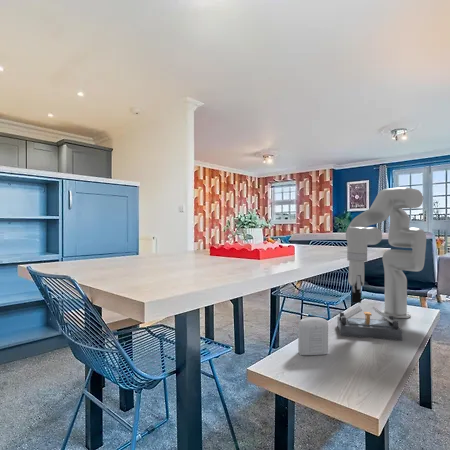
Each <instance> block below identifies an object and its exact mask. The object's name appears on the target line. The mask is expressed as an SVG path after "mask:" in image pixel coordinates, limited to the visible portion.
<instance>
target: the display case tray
mask: <svg viewBox="0 0 450 450" xmlns="http://www.w3.org/2000/svg"><path fill="white" fill-rule="evenodd" d="M343 315H345V313H344V312H339V316H337V317H336V318H337V323H336V325H337V329H338V332H339V334H340V335H339V336H342V337H351V338H352V337H354V338H365V339H377V340H378V339H379V340H389V341H392V340H393V341H403V330H402V329H401V327H400V326H399V321H398V320H394V319H395V318H394V317H393V316H388V317H389V318H390V319H393V320H394V321H393V324H392V323H391V322H390V321H388V320H387V319H377V318H371V316H372V313H371V311H363V315H364V316H365V317H364V318H362V317H361V318H360V317H350V318H349V319H347V320H346V317H342V320H341V316H343Z"/></svg>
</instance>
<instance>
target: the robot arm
mask: <svg viewBox="0 0 450 450" xmlns="http://www.w3.org/2000/svg"><path fill="white" fill-rule="evenodd" d="M423 202H424V195H423V193H422V192H421V190H419V189H416V188H412V187H404V186H403V187H392V188H389V187H388V188H383V189H381V190H380V191H379V192H378V193H377V194H376V197H375V198H374V200H373V202H372V204H371V206H370V207H369V208H368V209H366V210H365V211H363V212H360V213H359V214H358V215H356V216H355V217H354V218H353V219H352V220H351V221H350V222H349V224H348V226H347V228H346V230H345V239H346V241H347V245H346V246H347V251H346V252H347V253H346V254H347V255H346V256H347V257H346V258H347V259H346V260H347V261H348V277H347V278H348V279H347V282H348V284H349V286H352V290H351V302H352V303H356V304H357V303H358V304H360V303H362V287H364V286H365V262H368V246H369V245H370V246H371V245H372V246H373V245H377V244H379V243H380V242H381V241H382V239H383V233H382V231H381V230H380V228H378V227H376V226H372V225H377V224H379V223H382V222H384V221H386V220H388V219H389V226H388V227H389V228H388V238H387V239H388V244H389V245H390V246H391V247H395V248H404V249H405V248H406V249H412V250H406V249H405V250H404V249H393V248H392V249H388V250H385V251H384V252H383V254H382V258H381V259H382V263H383V265H382V266H383V270H384V271H383V272H384V308H383V309H381V310H380V312H382V313H383V314H384V315H386V316H387V317H389V316H393V317H394V319H408V318H411V316H412V315H411V313H410V312H408V279H407V276H406V274H405V273H404V271H405V272H406V271H408V272H420V271H422V270H423V269H424V266H425V263H426V262H425V261H426V252H427V251H426V249H427V234H426V232H425V230H424V229H422V228H418V227H410V222H411V219H410V216H409V215H408V213H407V212H406V210H404V209H418V208H420V207H421V206H422V204H423Z"/></svg>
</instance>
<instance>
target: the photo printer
mask: <svg viewBox="0 0 450 450" xmlns="http://www.w3.org/2000/svg"><path fill="white" fill-rule="evenodd" d="M297 338H298V343H297V345H298V346H297V347H298V349H297V350H298V354H299V355H301V356H316V355H317V356H319V355H321V356H323V355H328V354H329V321H328V320H327V319H325V318H322V317H318V316H317V317H316V316H309V317H305V318H302V319H299V321H298V337H297Z"/></svg>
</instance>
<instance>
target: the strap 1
mask: <svg viewBox="0 0 450 450" xmlns="http://www.w3.org/2000/svg"><path fill="white" fill-rule="evenodd" d="M362 311H363V309H362V308H361V306H360V305H358V306H357V307H355V308H353V309H351V310H350V311H348V312H346V313H344V315H343V316H341V320H342V317H346V320H347V319H349V318H353V317H354V316H356V315H357V314H359V313H361V312H362Z"/></svg>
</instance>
